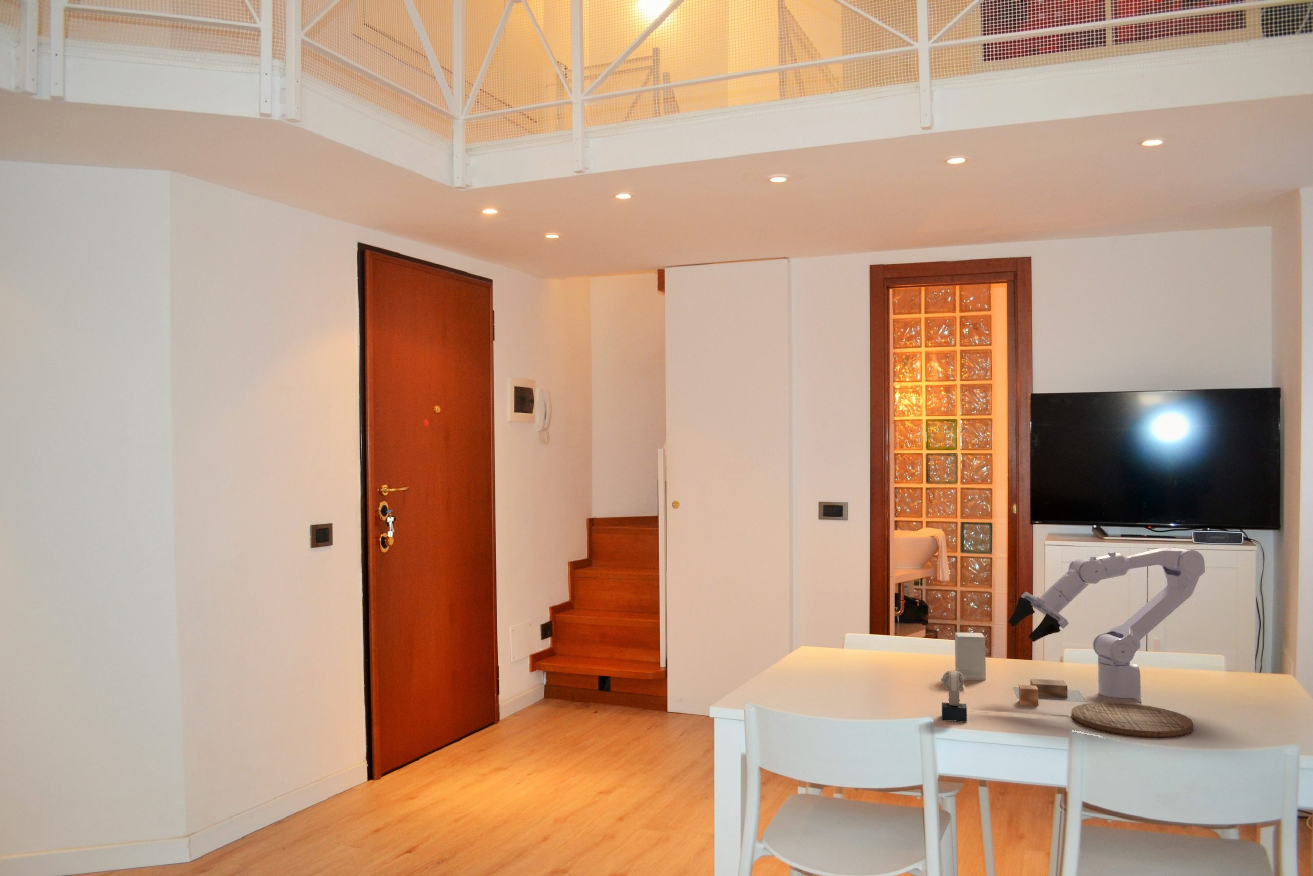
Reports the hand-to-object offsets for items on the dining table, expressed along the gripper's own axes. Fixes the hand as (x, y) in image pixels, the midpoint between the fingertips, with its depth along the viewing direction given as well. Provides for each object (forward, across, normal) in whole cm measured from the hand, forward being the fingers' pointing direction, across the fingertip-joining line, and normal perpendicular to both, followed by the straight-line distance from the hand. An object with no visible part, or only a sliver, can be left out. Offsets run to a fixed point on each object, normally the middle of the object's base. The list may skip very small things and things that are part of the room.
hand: (1020, 631), depth 242 cm
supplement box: (+15, -14, +18) cm, 28 cm away
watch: (+29, +14, -10) cm, 34 cm away
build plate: (+6, +8, +16) cm, 18 cm away
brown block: (+5, +7, +15) cm, 18 cm away
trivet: (0, +31, +10) cm, 33 cm away
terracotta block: (+12, +12, +6) cm, 19 cm away
